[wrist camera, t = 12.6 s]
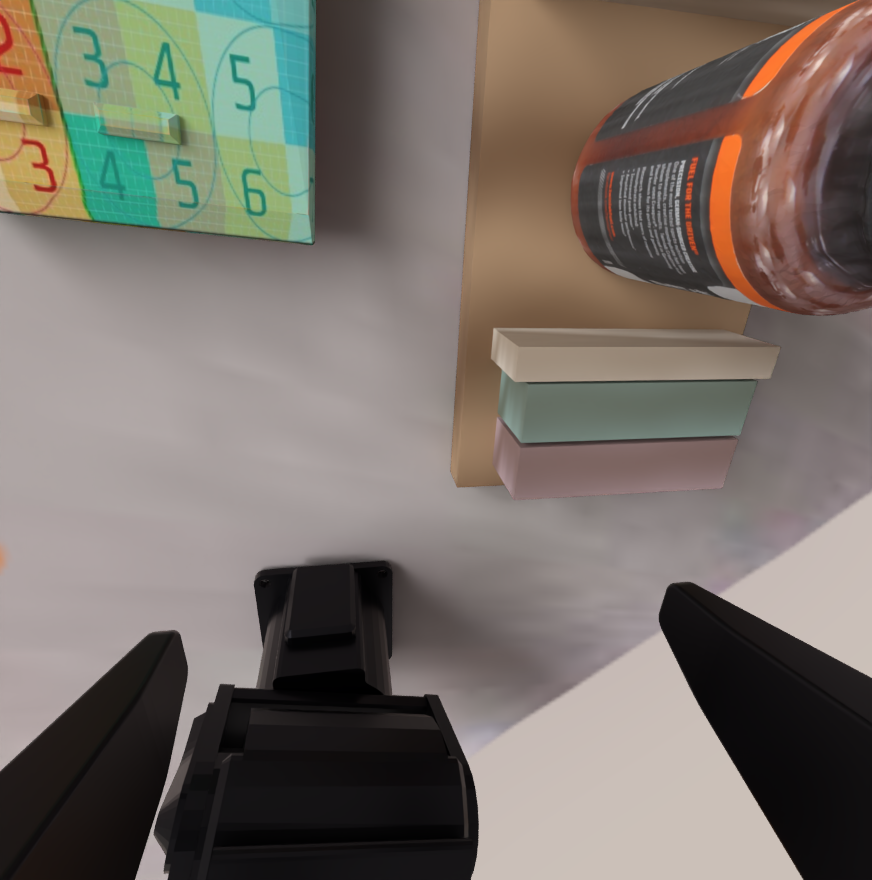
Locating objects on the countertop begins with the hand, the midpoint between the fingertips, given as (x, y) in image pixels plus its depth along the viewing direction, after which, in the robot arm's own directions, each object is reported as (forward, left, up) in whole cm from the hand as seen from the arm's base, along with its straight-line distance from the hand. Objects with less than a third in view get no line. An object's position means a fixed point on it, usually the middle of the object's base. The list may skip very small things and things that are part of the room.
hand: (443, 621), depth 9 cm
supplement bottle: (+8, -9, -12) cm, 17 cm away
